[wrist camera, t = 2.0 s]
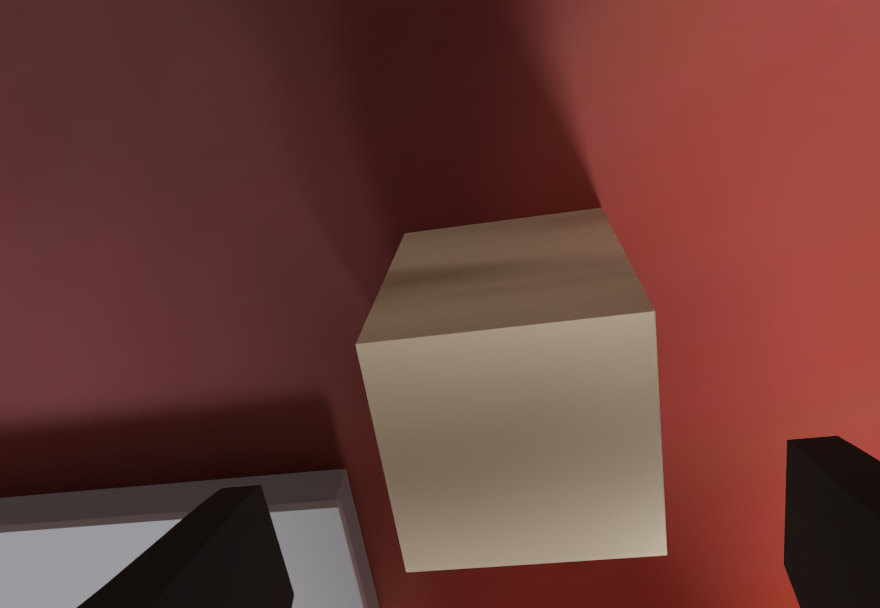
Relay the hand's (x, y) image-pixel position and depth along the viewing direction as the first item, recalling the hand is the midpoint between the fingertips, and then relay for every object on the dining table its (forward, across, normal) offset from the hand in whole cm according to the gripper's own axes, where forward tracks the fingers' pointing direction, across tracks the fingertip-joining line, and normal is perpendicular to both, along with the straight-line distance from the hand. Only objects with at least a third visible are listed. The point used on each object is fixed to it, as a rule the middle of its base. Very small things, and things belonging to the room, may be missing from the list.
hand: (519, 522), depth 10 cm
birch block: (+8, 0, 0) cm, 8 cm away
